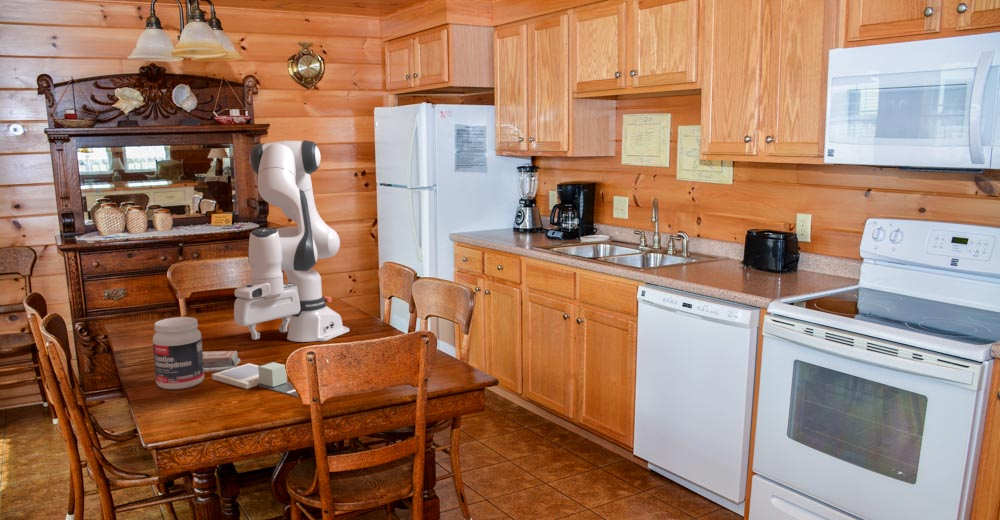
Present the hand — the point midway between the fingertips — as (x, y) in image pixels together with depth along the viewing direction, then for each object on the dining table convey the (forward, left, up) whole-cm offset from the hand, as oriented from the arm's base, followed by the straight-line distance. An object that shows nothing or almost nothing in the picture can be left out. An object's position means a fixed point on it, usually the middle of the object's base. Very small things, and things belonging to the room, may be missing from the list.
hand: (269, 335), depth 214 cm
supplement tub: (+14, -23, -15) cm, 31 cm away
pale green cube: (0, 0, -15) cm, 15 cm away
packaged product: (-1, -32, -15) cm, 35 cm away
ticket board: (0, -3, -15) cm, 15 cm away
